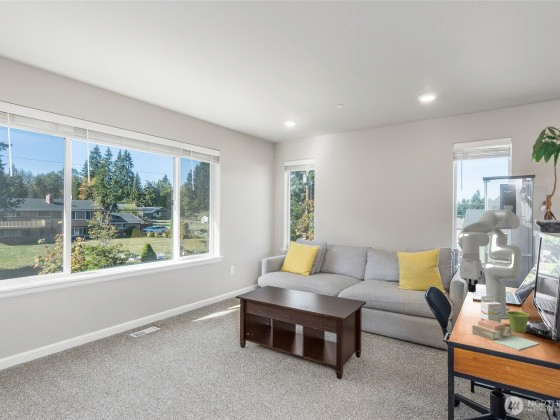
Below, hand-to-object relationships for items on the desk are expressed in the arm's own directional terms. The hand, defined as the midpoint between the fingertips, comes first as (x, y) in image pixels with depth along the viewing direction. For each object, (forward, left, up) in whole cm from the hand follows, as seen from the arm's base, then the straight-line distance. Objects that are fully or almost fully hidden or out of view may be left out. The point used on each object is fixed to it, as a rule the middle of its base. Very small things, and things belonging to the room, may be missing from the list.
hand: (472, 291), depth 161 cm
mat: (0, +20, -19) cm, 28 cm away
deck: (0, +10, -19) cm, 21 cm away
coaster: (0, +10, -15) cm, 18 cm away
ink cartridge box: (-16, 0, -19) cm, 25 cm away
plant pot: (-18, +12, -19) cm, 29 cm away
